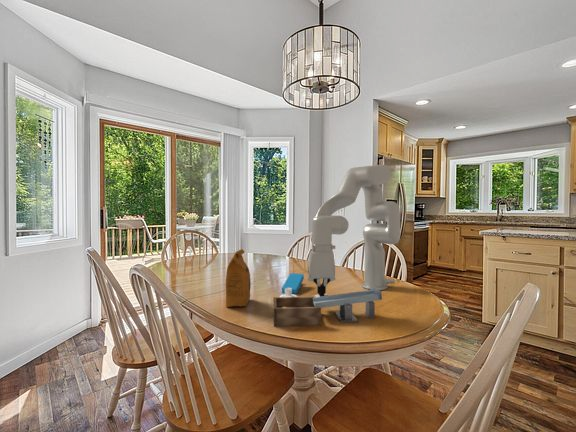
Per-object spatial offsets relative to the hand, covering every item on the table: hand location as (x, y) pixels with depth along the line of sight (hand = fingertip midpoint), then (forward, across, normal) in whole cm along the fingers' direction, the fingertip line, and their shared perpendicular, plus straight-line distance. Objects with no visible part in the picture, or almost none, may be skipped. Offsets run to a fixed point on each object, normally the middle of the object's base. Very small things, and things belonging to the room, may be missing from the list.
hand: (321, 295), depth 112 cm
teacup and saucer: (+6, +15, -15) cm, 22 cm away
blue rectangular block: (+6, +8, -30) cm, 31 cm away
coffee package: (+6, +33, -9) cm, 35 cm away
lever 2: (0, -8, +4) cm, 9 cm away
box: (+6, +11, +8) cm, 15 cm away
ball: (+4, +15, +7) cm, 17 cm away
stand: (+6, -11, +7) cm, 15 cm away
